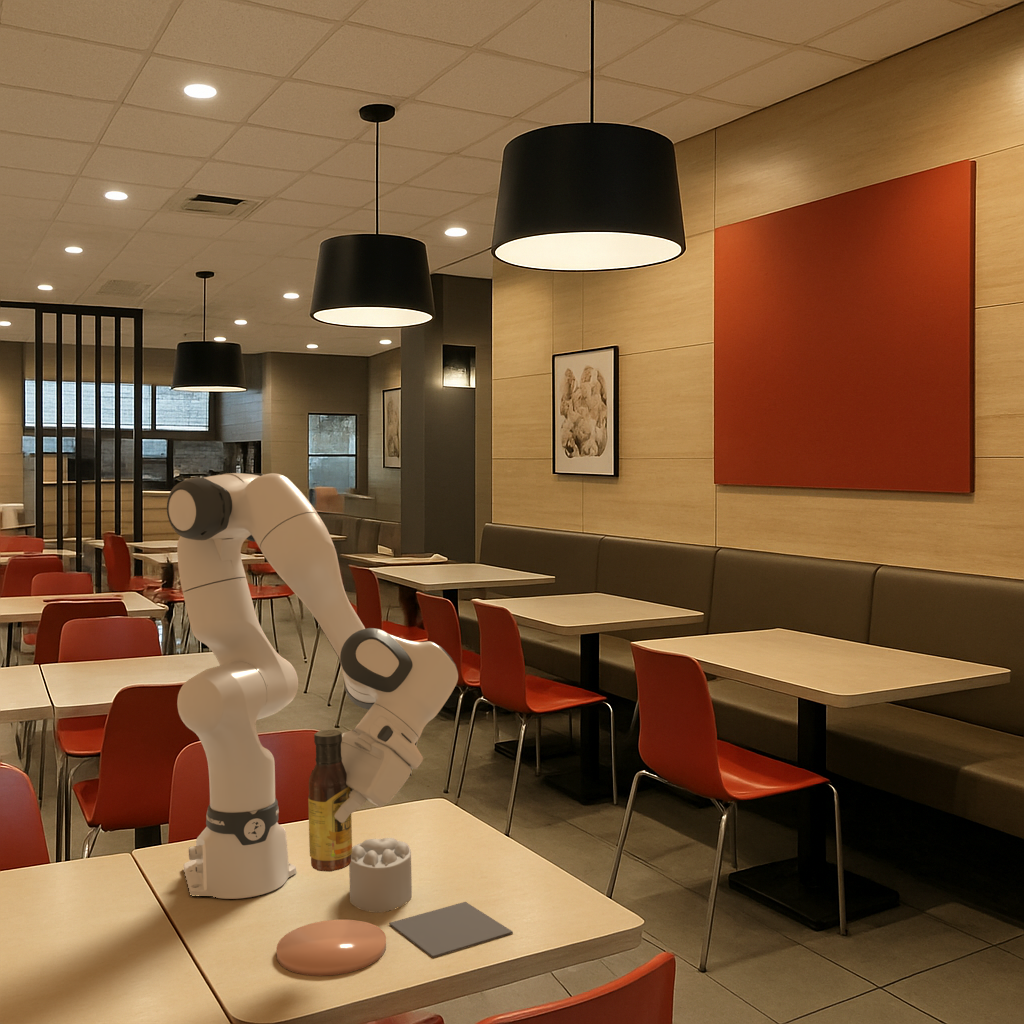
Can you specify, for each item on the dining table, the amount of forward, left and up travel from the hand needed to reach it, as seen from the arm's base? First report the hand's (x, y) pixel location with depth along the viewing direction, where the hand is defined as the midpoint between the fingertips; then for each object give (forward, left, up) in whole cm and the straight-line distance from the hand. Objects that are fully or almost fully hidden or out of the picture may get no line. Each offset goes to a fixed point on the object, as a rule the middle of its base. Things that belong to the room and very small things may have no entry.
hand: (326, 812), depth 148 cm
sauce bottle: (0, +1, -8) cm, 8 cm away
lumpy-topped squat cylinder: (-14, +16, -21) cm, 30 cm away
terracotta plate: (0, +1, -21) cm, 21 cm away
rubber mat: (+4, +19, -21) cm, 28 cm away
